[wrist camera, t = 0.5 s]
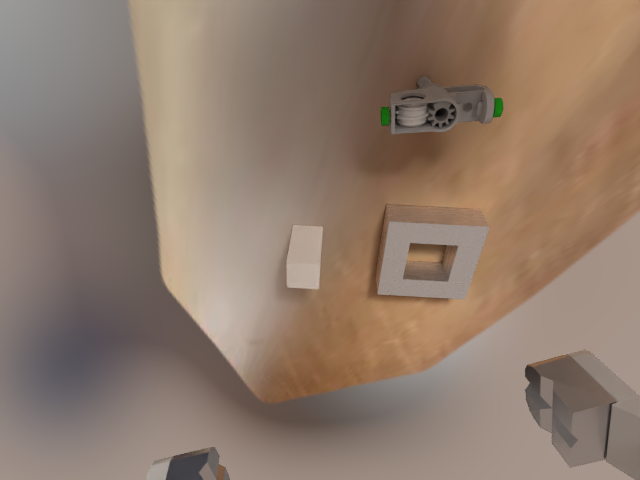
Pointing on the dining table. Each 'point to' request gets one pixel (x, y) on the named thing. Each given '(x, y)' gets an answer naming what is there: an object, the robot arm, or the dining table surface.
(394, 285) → the grey square socket base
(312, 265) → the plug
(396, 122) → the mechanical component
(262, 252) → the dining table surface
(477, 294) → the dining table surface
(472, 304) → the dining table surface
